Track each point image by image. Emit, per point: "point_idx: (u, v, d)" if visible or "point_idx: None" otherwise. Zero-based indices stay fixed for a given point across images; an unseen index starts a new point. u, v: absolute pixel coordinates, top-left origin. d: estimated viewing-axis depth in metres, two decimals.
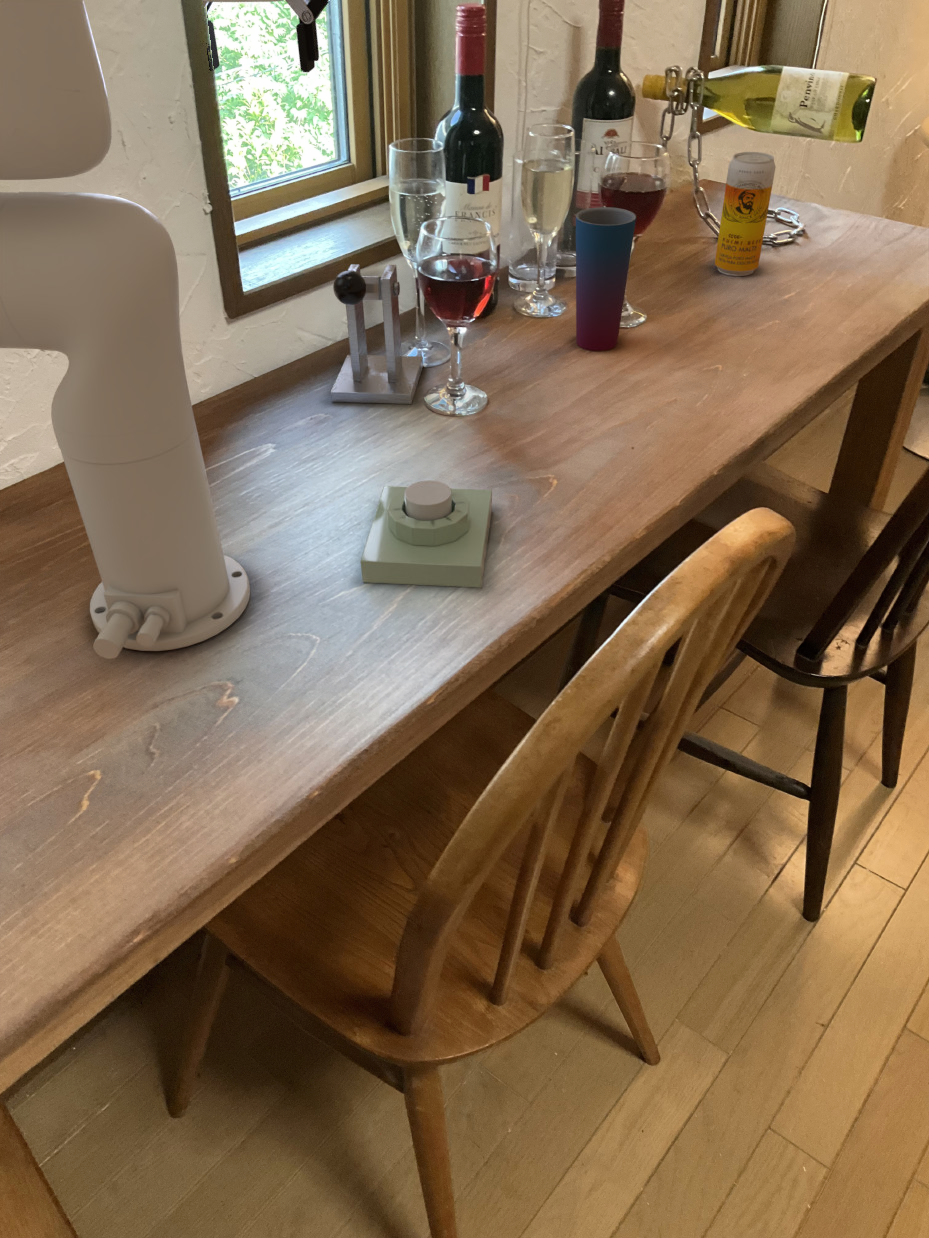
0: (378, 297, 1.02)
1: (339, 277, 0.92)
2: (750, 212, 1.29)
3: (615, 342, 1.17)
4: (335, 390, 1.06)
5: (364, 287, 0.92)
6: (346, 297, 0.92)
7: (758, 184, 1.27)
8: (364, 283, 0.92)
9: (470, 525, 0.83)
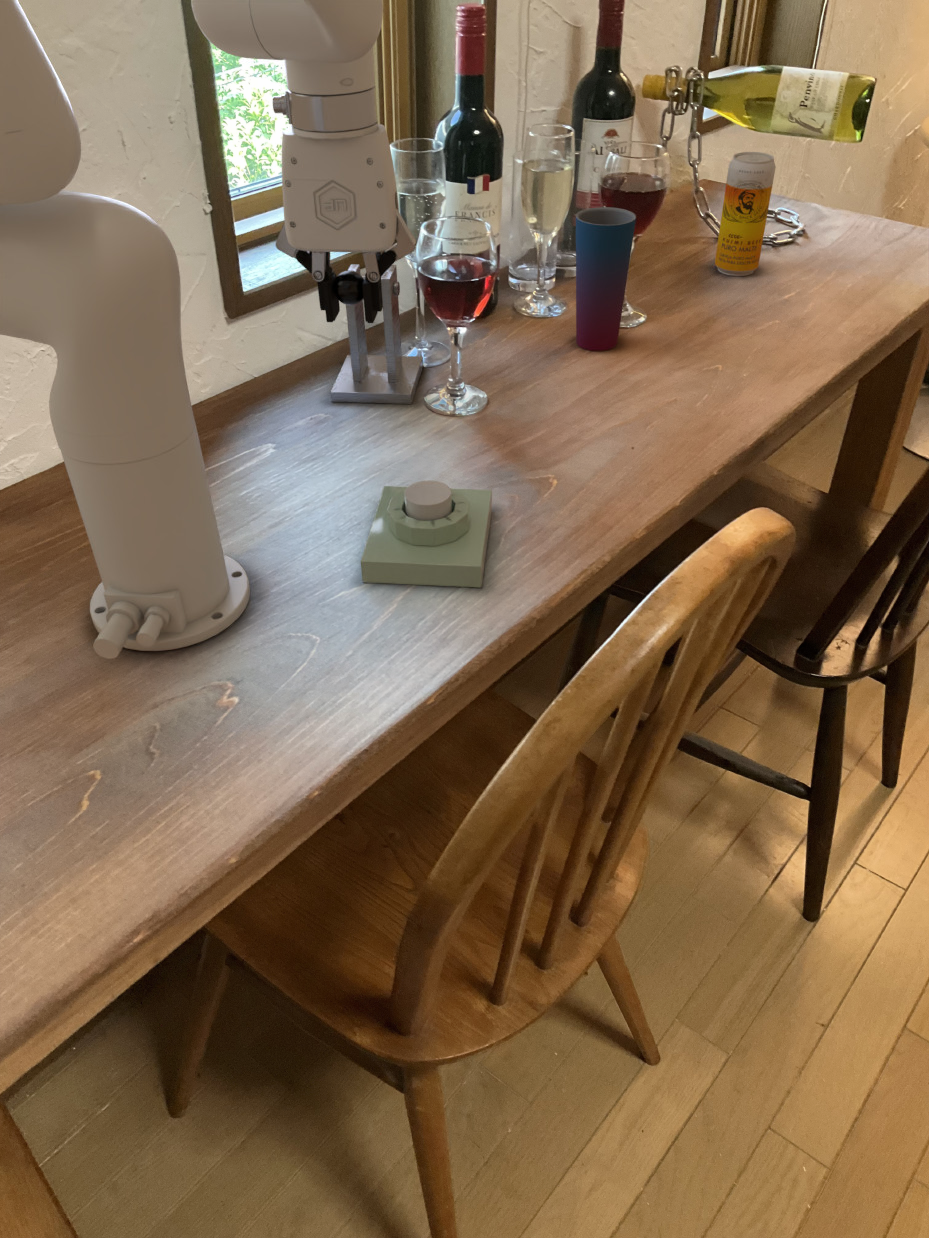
0: None
1: (339, 277, 0.92)
2: (750, 212, 1.29)
3: (615, 342, 1.17)
4: (335, 390, 1.06)
5: None
6: (346, 297, 0.92)
7: (758, 184, 1.27)
8: None
9: (470, 525, 0.83)
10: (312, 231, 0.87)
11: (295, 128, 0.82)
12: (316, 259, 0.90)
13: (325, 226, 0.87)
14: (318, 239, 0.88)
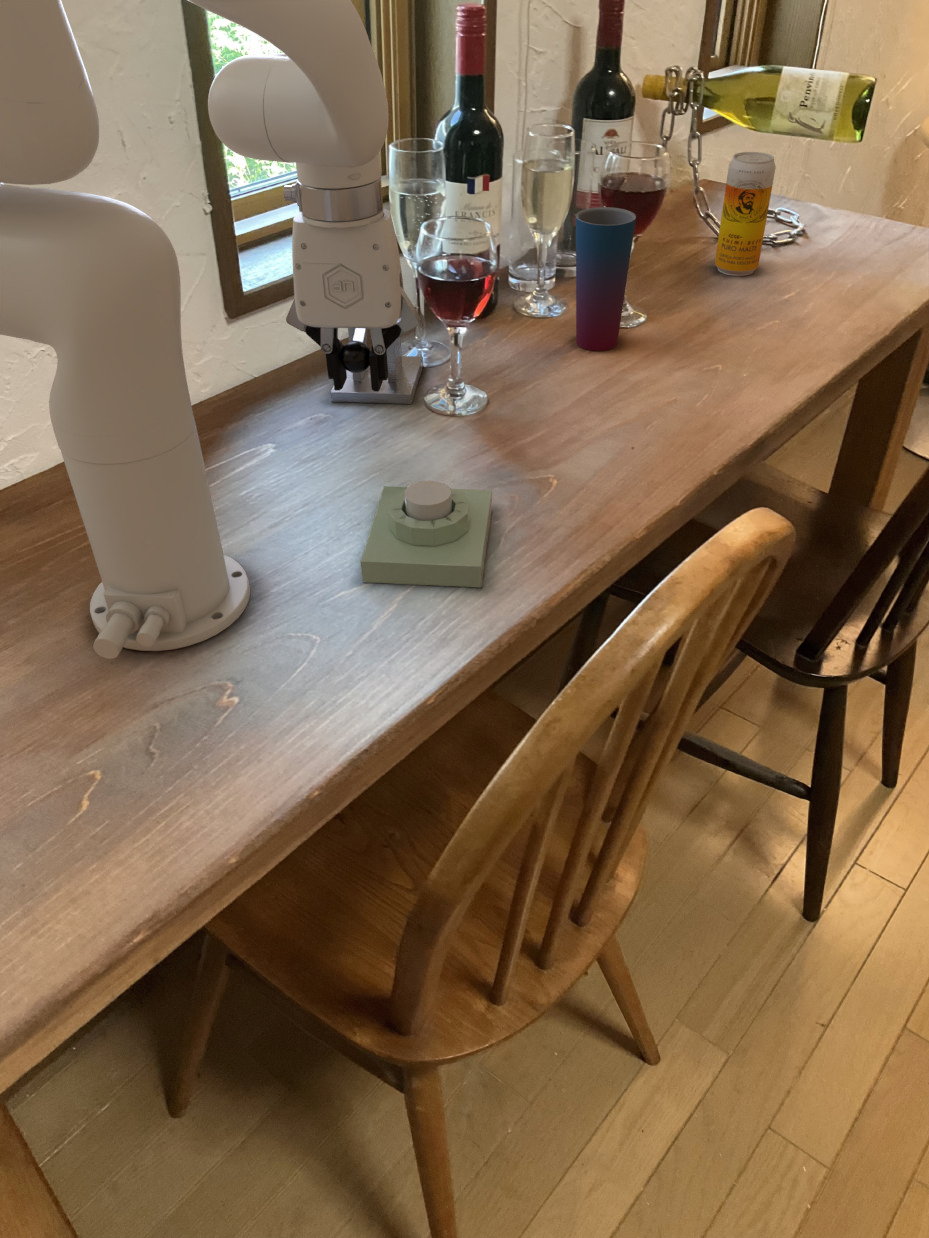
0: None
1: (345, 355, 0.96)
2: (750, 212, 1.29)
3: (615, 342, 1.17)
4: (335, 390, 1.06)
5: None
6: (354, 372, 0.97)
7: (758, 184, 1.27)
8: None
9: (470, 525, 0.83)
10: (321, 309, 0.92)
11: (305, 216, 0.87)
12: (325, 333, 0.95)
13: (333, 305, 0.91)
14: (327, 317, 0.92)
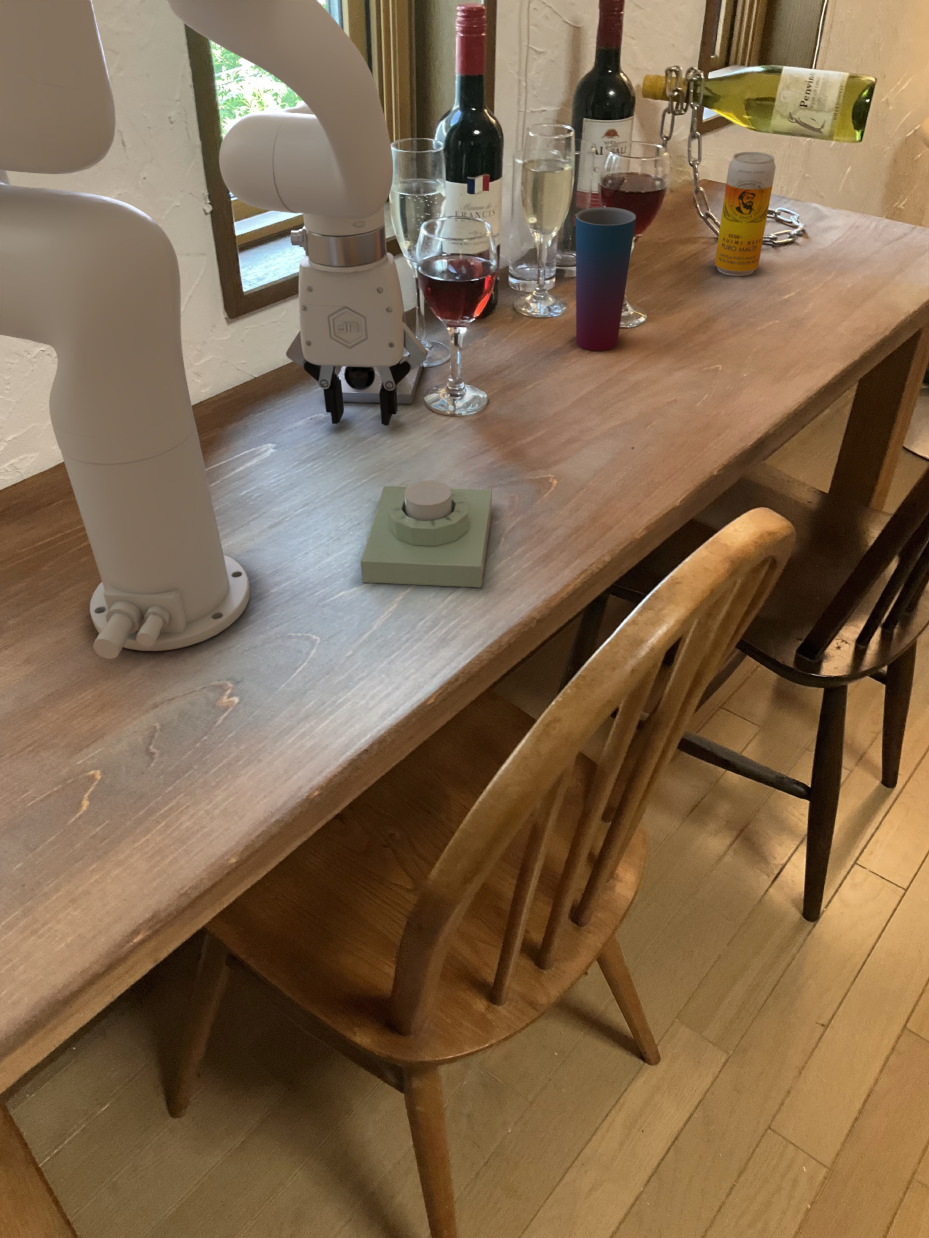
0: None
1: (349, 376, 0.98)
2: (750, 212, 1.29)
3: (615, 342, 1.17)
4: None
5: (373, 378, 0.99)
6: None
7: (758, 184, 1.27)
8: (373, 374, 0.99)
9: (470, 525, 0.83)
10: (326, 349, 0.95)
11: (311, 261, 0.90)
12: (324, 370, 0.98)
13: (338, 345, 0.94)
14: (332, 356, 0.95)
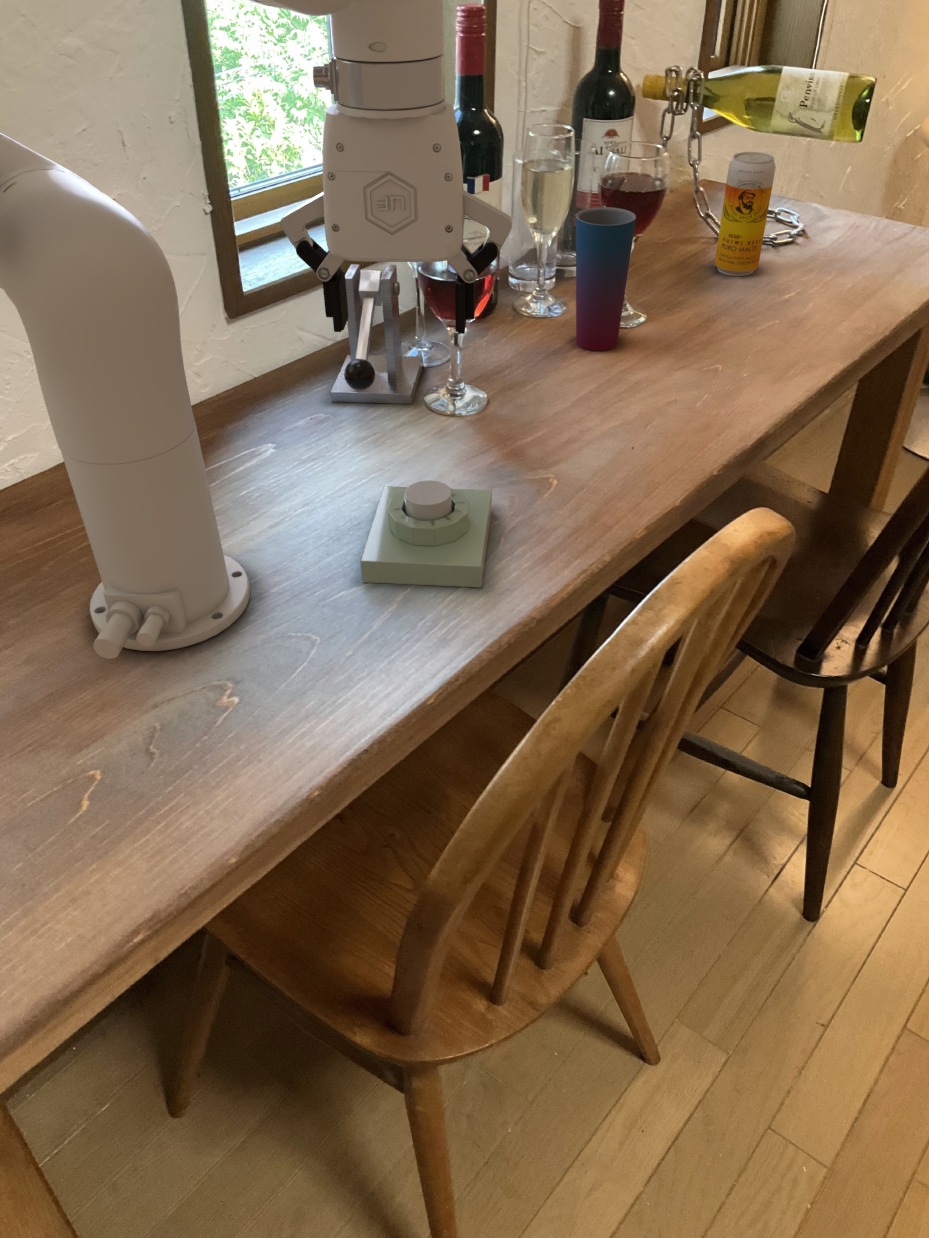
0: (380, 304, 1.04)
1: (349, 376, 0.98)
2: (750, 212, 1.29)
3: (615, 342, 1.17)
4: (335, 390, 1.06)
5: (373, 378, 0.99)
6: None
7: (758, 184, 1.27)
8: (373, 374, 0.99)
9: (470, 525, 0.83)
10: (360, 236, 0.70)
11: (343, 106, 0.65)
12: (333, 257, 0.72)
13: (376, 230, 0.69)
14: (367, 246, 0.70)
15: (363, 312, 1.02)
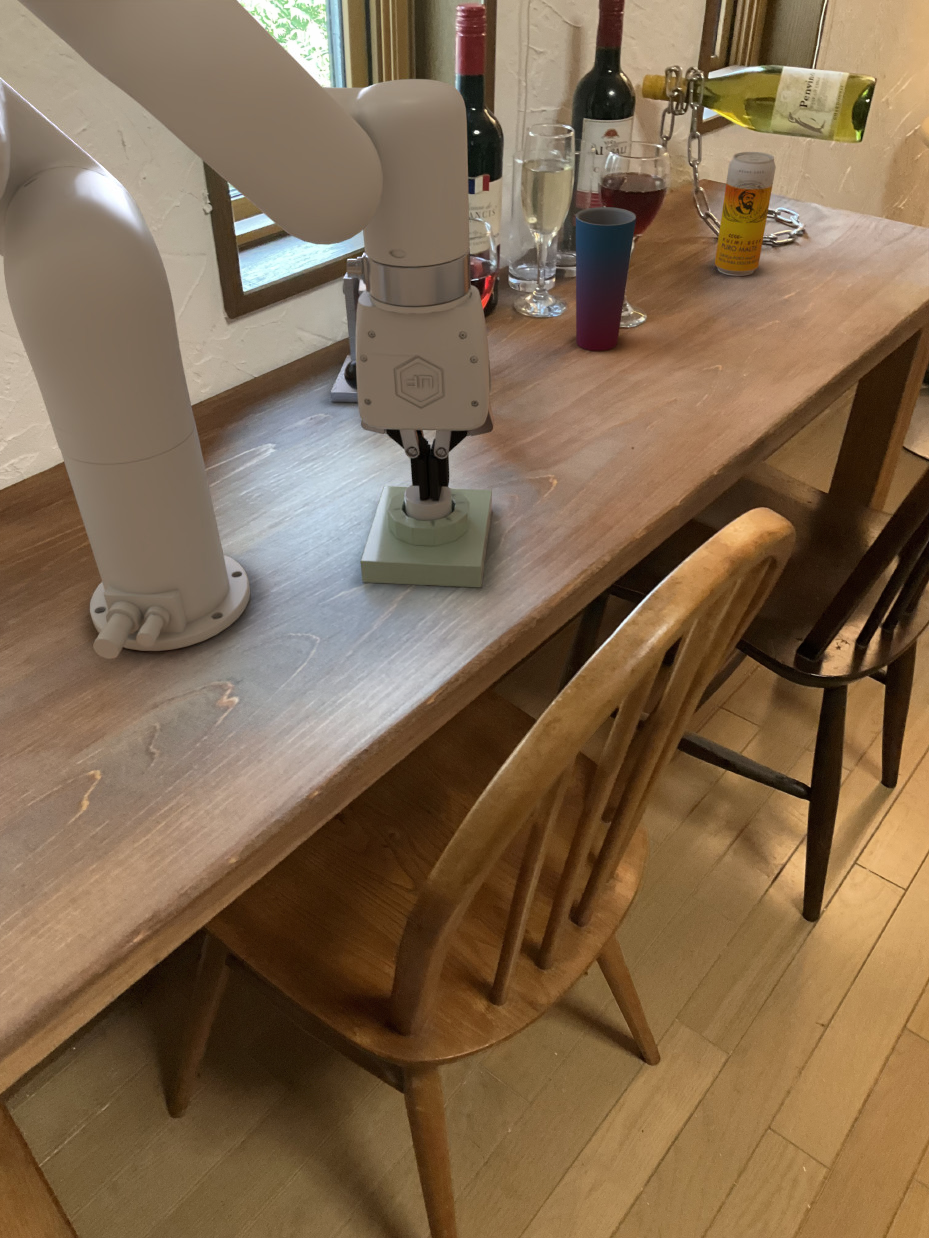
0: None
1: (349, 376, 0.98)
2: (750, 212, 1.29)
3: (615, 342, 1.17)
4: (335, 390, 1.06)
5: None
6: None
7: (758, 184, 1.27)
8: None
9: (470, 525, 0.83)
10: (390, 409, 0.74)
11: (374, 298, 0.69)
12: (406, 435, 0.77)
13: (406, 404, 0.73)
14: (397, 417, 0.74)
15: None
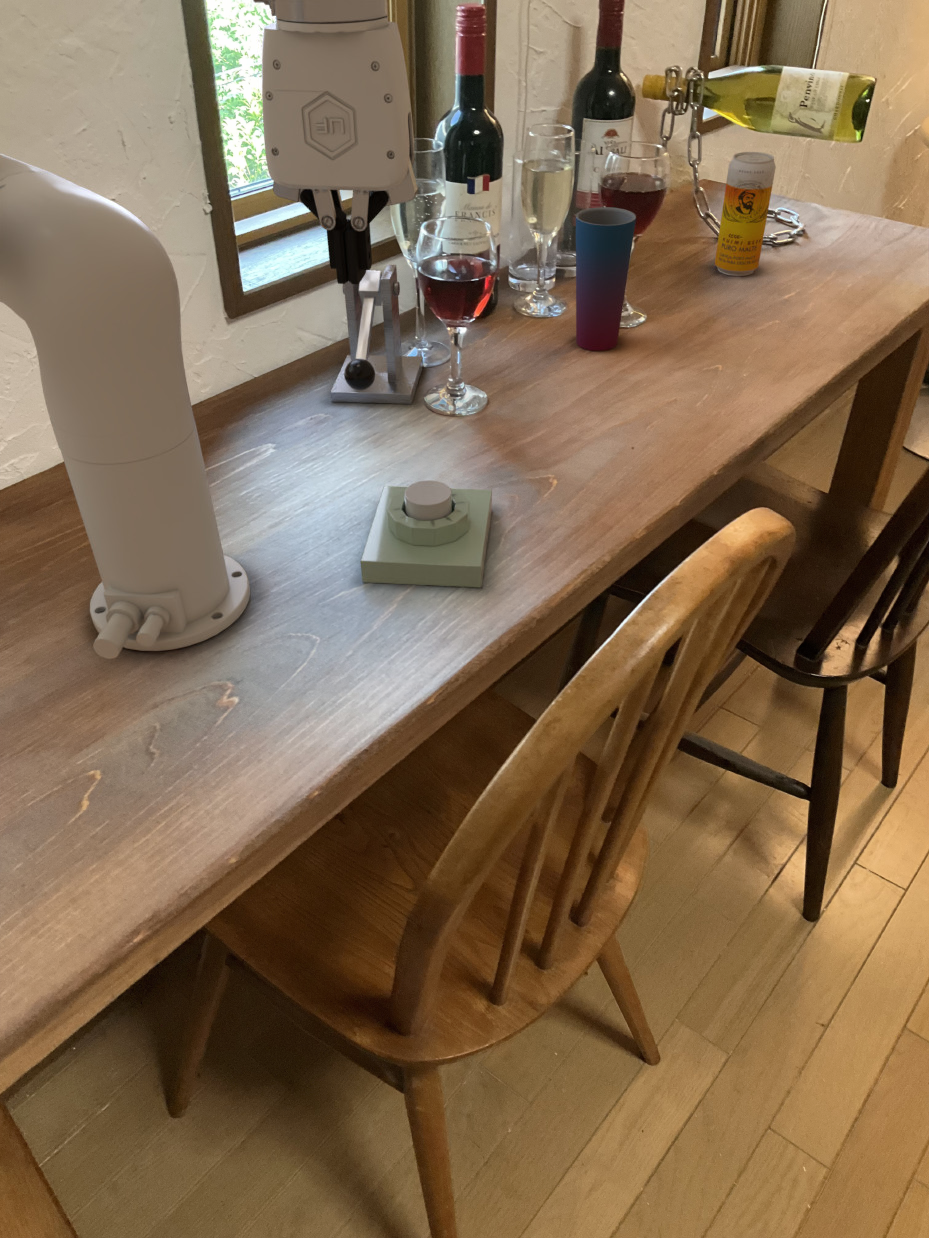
0: (380, 304, 1.04)
1: (349, 376, 0.98)
2: (750, 212, 1.29)
3: (615, 342, 1.17)
4: (335, 390, 1.06)
5: (373, 378, 0.99)
6: None
7: (758, 184, 1.27)
8: (373, 374, 0.99)
9: (470, 525, 0.83)
10: (300, 161, 0.67)
11: (278, 20, 0.63)
12: (320, 201, 0.70)
13: (316, 154, 0.67)
14: (307, 172, 0.68)
15: (363, 312, 1.02)
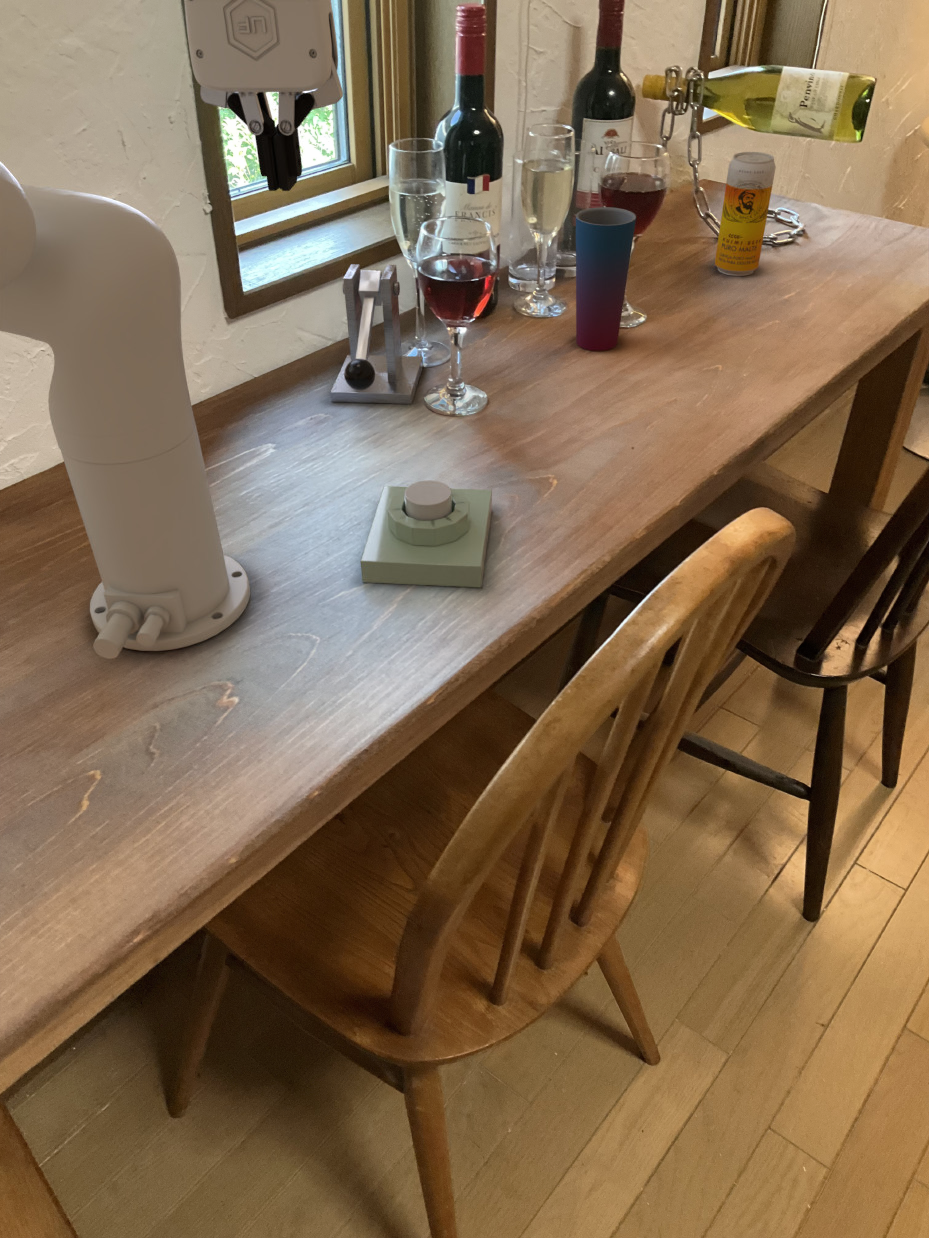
0: (380, 304, 1.04)
1: (349, 376, 0.98)
2: (750, 212, 1.29)
3: (615, 342, 1.17)
4: (335, 390, 1.06)
5: (373, 378, 0.99)
6: None
7: (758, 184, 1.27)
8: (373, 374, 0.99)
9: (470, 525, 0.83)
10: (224, 62, 0.69)
11: None
12: (247, 105, 0.72)
13: (240, 55, 0.68)
14: (232, 74, 0.69)
15: (363, 312, 1.02)
